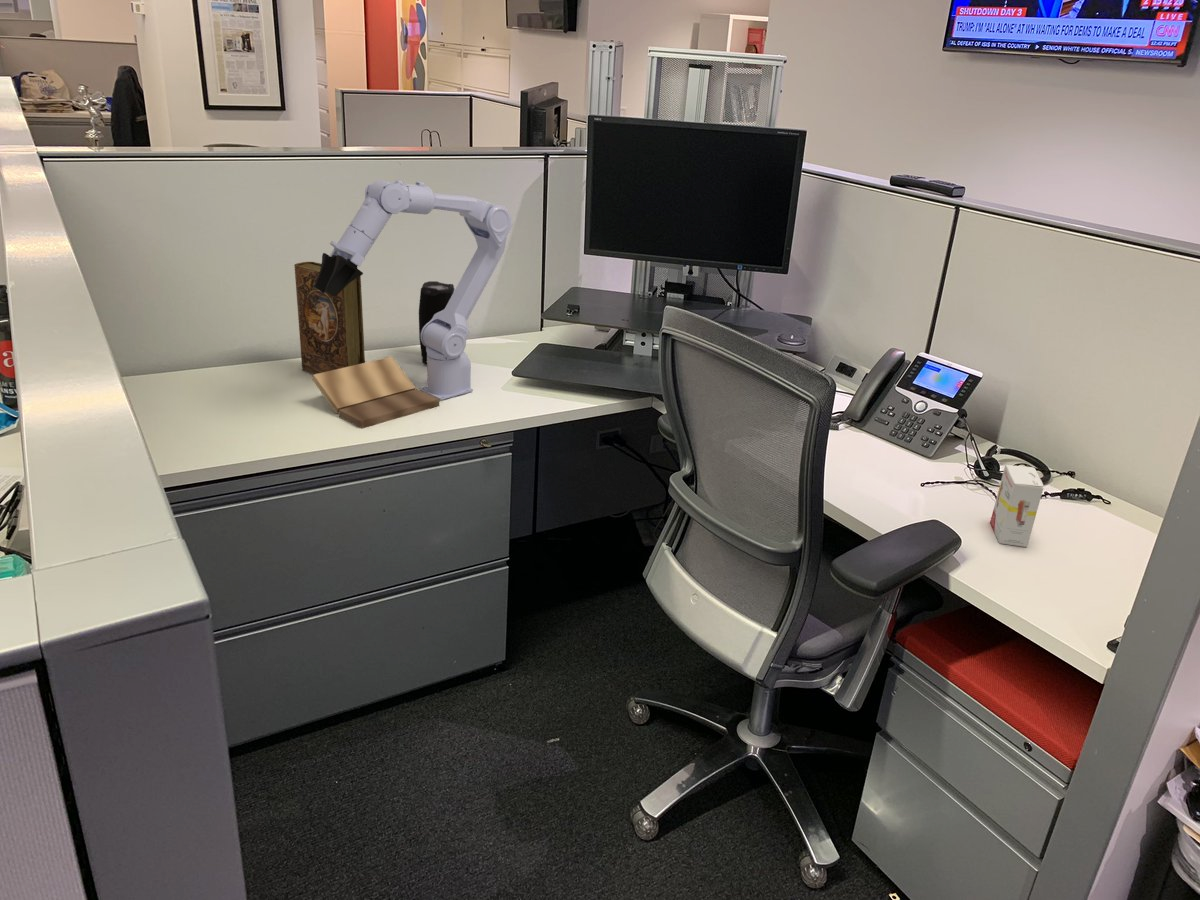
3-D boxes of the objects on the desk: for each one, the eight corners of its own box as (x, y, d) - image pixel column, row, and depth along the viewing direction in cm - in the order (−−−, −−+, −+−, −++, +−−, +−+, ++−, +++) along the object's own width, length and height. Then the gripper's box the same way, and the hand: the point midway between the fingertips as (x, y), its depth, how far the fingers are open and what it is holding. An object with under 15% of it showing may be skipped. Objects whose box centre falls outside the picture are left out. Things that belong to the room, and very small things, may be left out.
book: (298, 369, 214) (290, 264, 204) (316, 364, 219) (309, 260, 208) (348, 386, 207) (342, 277, 196) (365, 379, 211) (360, 273, 201)
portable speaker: (463, 360, 228) (463, 284, 220) (441, 371, 220) (441, 291, 212) (434, 354, 231) (434, 278, 223) (412, 364, 223) (411, 285, 215)
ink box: (988, 521, 165) (1004, 462, 160) (1017, 525, 164) (1034, 466, 159) (997, 543, 157) (1014, 482, 152) (1027, 548, 156) (1045, 487, 152)
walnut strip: (416, 395, 204) (416, 388, 203) (439, 405, 199) (439, 399, 198) (339, 416, 190) (338, 409, 189) (361, 428, 185) (361, 421, 185)
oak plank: (390, 361, 207) (391, 356, 206) (413, 392, 204) (415, 387, 203) (312, 379, 194) (313, 374, 193) (336, 413, 190) (337, 408, 189)
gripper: (333, 220, 183) (297, 276, 182) (355, 223, 172) (317, 283, 171) (362, 241, 187) (327, 296, 186) (386, 245, 176) (348, 304, 175)
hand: (324, 292), depth 179 cm, fingers open, 7 cm apart
